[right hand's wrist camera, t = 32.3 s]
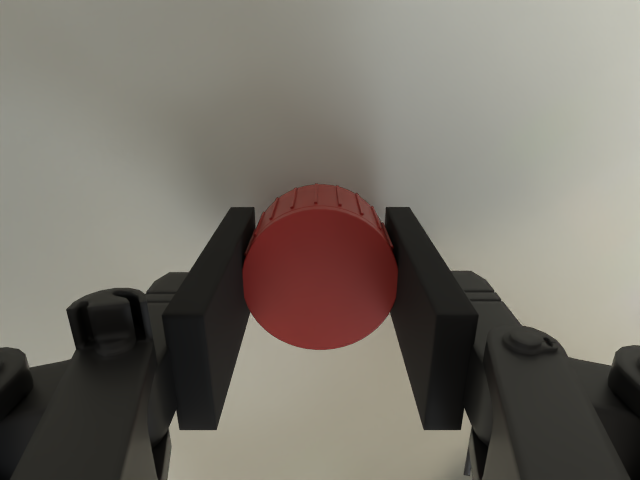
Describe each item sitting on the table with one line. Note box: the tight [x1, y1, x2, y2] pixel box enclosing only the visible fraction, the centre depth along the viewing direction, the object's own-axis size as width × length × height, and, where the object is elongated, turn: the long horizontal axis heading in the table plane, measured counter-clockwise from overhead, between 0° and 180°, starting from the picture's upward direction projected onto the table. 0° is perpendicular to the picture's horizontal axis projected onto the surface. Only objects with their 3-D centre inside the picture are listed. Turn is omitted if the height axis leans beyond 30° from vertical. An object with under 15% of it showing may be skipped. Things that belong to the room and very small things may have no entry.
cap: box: [242, 184, 398, 350], centre depth 13 cm, size 4×4×3 cm
